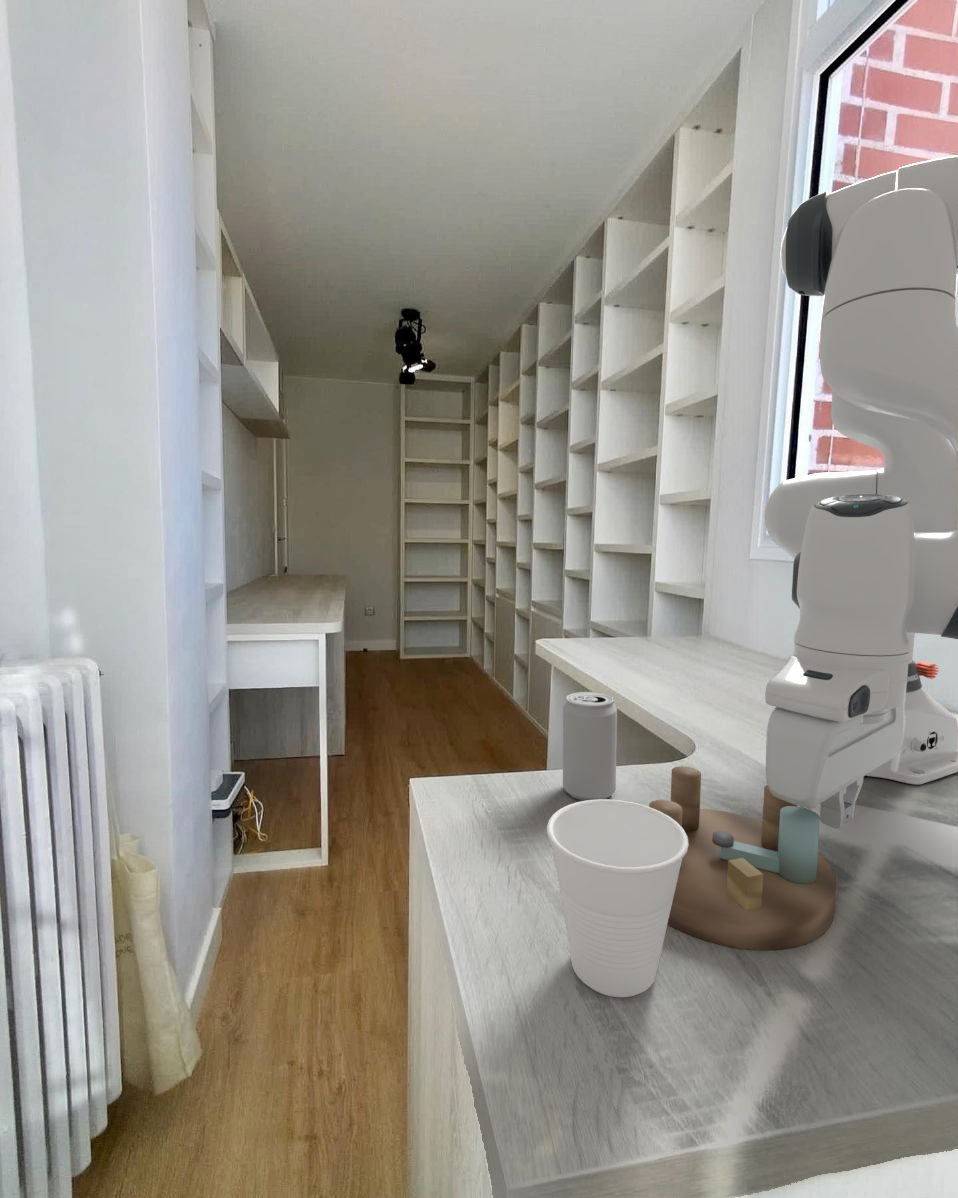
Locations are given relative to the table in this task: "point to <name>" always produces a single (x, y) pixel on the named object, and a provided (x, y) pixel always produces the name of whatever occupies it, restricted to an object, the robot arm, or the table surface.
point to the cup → (616, 889)
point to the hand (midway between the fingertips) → (836, 821)
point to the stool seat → (740, 878)
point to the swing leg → (781, 846)
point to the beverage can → (589, 745)
